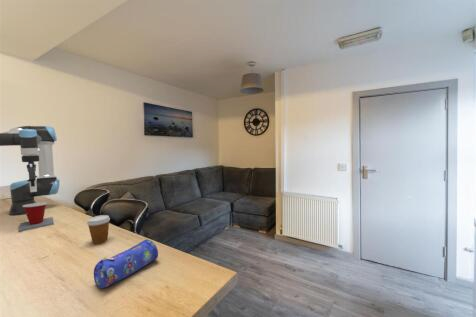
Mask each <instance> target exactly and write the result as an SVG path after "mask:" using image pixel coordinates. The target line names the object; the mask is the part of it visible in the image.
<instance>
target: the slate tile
mask: <svg viewBox="0 0 476 317" xmlns="http://www.w3.org/2000/svg"><path fill="white" fill-rule="evenodd" d="M53 225H55V223H54V217H53V216H49V217H46V218H43V222H42V223H39V224H34V225H30V223H29V220H28V221H23V222H20V223H19V227H18V233H21V232H25V231H29V230H35V229H39V228H44V227H49V226H53Z"/></svg>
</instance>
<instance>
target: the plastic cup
mask: <svg viewBox="0 0 476 317" xmlns="http://www.w3.org/2000/svg"><path fill="white" fill-rule="evenodd" d="M47 204H48V203H47V202H36V203H33V204H27V205H23V207H24V209H25V212H26V214H25V215H26V217H27V220H28V221H29V223H30V225H34V224H39V223H42V222H43V219H44V217H45V210H46V207H47Z"/></svg>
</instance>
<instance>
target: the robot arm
mask: <svg viewBox="0 0 476 317" xmlns="http://www.w3.org/2000/svg"><path fill="white" fill-rule="evenodd" d="M55 142H57V134H56V131H55V128H54V127H53V126H49V125H48V126H47V125H25V126H24V125H23V126H18V127H13V128H10V129H9V130H8V131H3V132H0V147H7V146H10V147H11V146H13V147H14V146H19V147H20V155H21V162H22V163H27V164H26V169H27V172H28V179H23V180H20V181H15V182H12V183H10V189H9V191H10V197H11V198H10V199H11V206H10V208H9V211H8V213H9V214H8V215H9V216H20V215H26V212H25V209H24V207H23V205H27V204H33V203H37V202H36V200H35V197H43V196H51V195H56V194H58V193H59V191H60V179H59V178H57V176H56V175H55V170H54V156H53V145H55ZM35 162H38V164H35ZM37 165H38V175H37V174H36V171H37V170H36V169H37Z"/></svg>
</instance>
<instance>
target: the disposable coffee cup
mask: <svg viewBox="0 0 476 317" xmlns="http://www.w3.org/2000/svg"><path fill="white" fill-rule="evenodd" d="M110 220H111V218H110V216H109V215H107V214H101V215H96V216H93V217H89V218H88V219H87V222H86V224H87V226H88V229H89V234H90V237H91V242H92V243H91V244H92V245H101V244H102V245H103V244H104V243H106V242H108V240H109V224H110Z"/></svg>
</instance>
